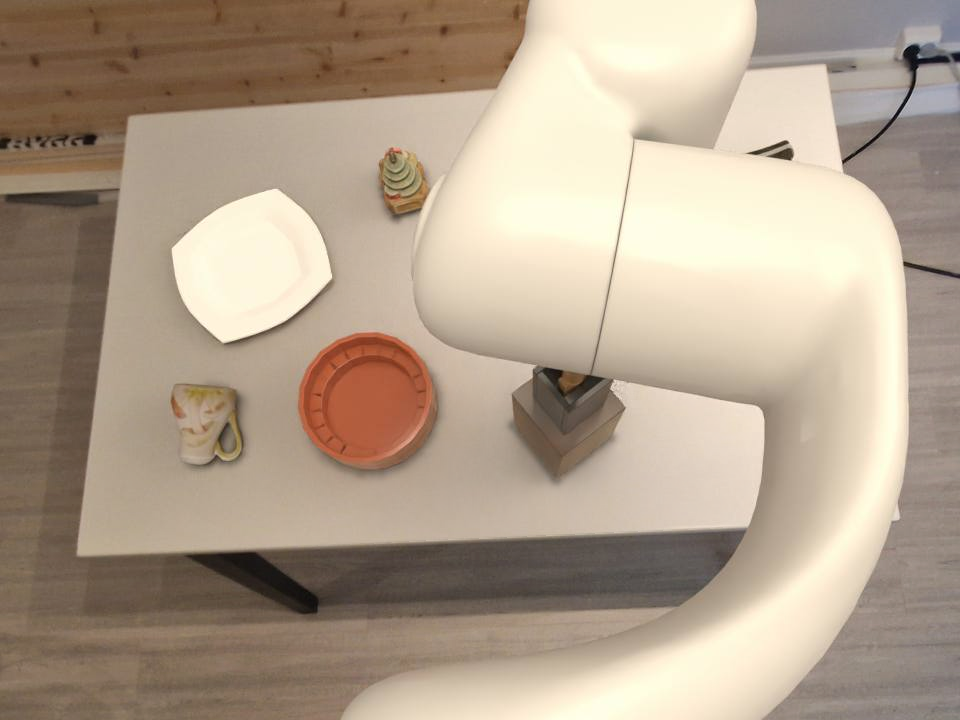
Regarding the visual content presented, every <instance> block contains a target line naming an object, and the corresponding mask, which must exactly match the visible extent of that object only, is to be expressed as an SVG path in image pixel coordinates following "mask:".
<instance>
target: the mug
mask: <svg viewBox="0 0 960 720" xmlns="http://www.w3.org/2000/svg"><path fill="white" fill-rule="evenodd" d="M170 404H171V410H172V413H173V417H174V419H175V423H176V427H177V430H178V433H179V447H178V448H179V449H178V456H179V458H180V459H181V461H183V462H184V463H187V464H190V465H200V466H202V465H207V464H208V463H210V462H211V461H213V459H215V457H216V456H217V457H219V459H221V460H222V461H225V462H231V461H234V460H236V459H237V458H238V457H239V456H240V455H241V452H242V450H243V438H242V434H241V432H240V430H239V426H238V421H237V411H236V409H235V407H236V404H237V389H236V388H232V387H226V386H218V385H217V386H216V385H209V384H199V383H198V384H197V383H196V384H194V383H175V384H173V386H172V389H171V395H170ZM228 423H229V425H230V427H231V429H232V431H233V435H234V437H235V442H236V447H235V449H234V450H233V451H232V452H230V453H228V452H224V451H223V449H222V445H221V443H220V442H219V438H220V435H221V433H222V432H223V430H224V429H225V427H226V425H227V424H228Z"/></svg>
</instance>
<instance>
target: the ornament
mask: <svg viewBox="0 0 960 720" xmlns="http://www.w3.org/2000/svg"><path fill="white" fill-rule="evenodd" d="M378 168H379V172H380V174H379V176H378V177H379V182H380V185H381V187H382V190H383V199H384V203H385V205H386V207H387V208H388V210H390V211H391V212H392V214H394V215H396V216H397V215H402V214H406V213H411V212H414V211H419V210H422V207H423V204H424V202H425V200H426V198H427V196H428V194H429V192H430V189H429V186H428V183H427V181H425V179H426V178H425V173H424V168H423V165H422V163H421V162H420V161H419V159H418V157H417V155H416V154H415V153H414V152H412V151H408V150H403V149H401V148H400V147H398V146H394V147H390V148H388V149H386V150H385V153H384V156H383V157H382V158H381V159H380V160H379V161H378Z"/></svg>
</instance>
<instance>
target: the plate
mask: <svg viewBox="0 0 960 720" xmlns="http://www.w3.org/2000/svg"><path fill="white" fill-rule="evenodd" d="M170 250H171V258H172V266H173V272H174V278H175V282H176V286H177V290H178V293H179V296H180V297H181V300H182V302H183V304H184V305H185V307H186V308H187V310H188V312H189V313H190V314H191V315H192V317H194V319H195V320H196V321H197V322H198V323H199V324H200V325H201V326H202V327H203V328H204V329H206V330H207V331H208V332H209V333H210V334H211V335H212V336H213V337H214V338H216V339H217V340H218V341H220V343H222V344H227V343H231V342H234V341H238V340H241V339H244V338H249V337H251V336H254V335H257V334H260V333H263V332H265V331H267V330H270V329H272V328H274V327H277V326H279V325H281V324H282V323H286V321H288V320H289V319H291V318H292V317H293V316H295V315H296V314H298V313H299V312H300V311H301V310H302V309H303V308H304V307H305V306H307V305H308V304H309V303H310V302H312V300H313V299H314V298H315V297H316V296H317V295H318V294H319V293H321V291H322V290H324V289H325V287H326V286H327V285H328V284H329V283H330V282H331V281H332V279H333V273H332V267H331V264H330V260H329V255H328V250H327V247H326V244H325V241H324V239H323V235H322V233H321V232H320V230H319V228H318V226H317V224H316V223H315V222H314V220H313V219H312V218H311V216H310V215H309V214H308V213H307V212H306V211H305V210H304V209H303V208H302V207H301V206H300V205H299V204H298V203H296V202H295V201H294V200H293V199H292V198H290V197H289V196H287V195H286V194H285V193H283V192H282V191H281V190H279V189H278V188H277V187H276V188H272V189H268V190H265V191H260V192H258V193H254V194H251V195H247V196H244V197H242V198H239V199H237V200H234V201H231V202H229V203H227V204H225V205H223V206H221V207H218V208H217V209H215V210H214V211H213V212H211V213H210V214H208V215H207V216H206V217H204V218H203V219H201V221H199V222H198V223H197V224H196V225H194V227H192V228H191V229H190V230H189V231H188V232H187V233H186V234H185V235H184V236H183V237H181V239H180V240H178V242H177V243H176V244H175V245H174V246H172V247H171V249H170Z"/></svg>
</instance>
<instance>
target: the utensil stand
mask: <svg viewBox="0 0 960 720" xmlns="http://www.w3.org/2000/svg"><path fill="white" fill-rule="evenodd" d="M562 373H563V370H558V369H553V368H547V367H542V366H537V365H536V366H534V368H532V378H530V379H529V380H528V381H526V382H524V384H522V385H520V386H519V387H518V388H517V389H515V390H514V391H513V392H512V393H511V395H510V396H511V404H512V412H513V422H514V426H515V428H517V430H518V432H519V433H520V434H521V435H522V436H523V437H524V439H525V440H526V442H527V443H528V444H529V445H530V446H531V448H532V449H533V450H534V452H535V453H536V454H537V456H539V458H540V459H541V461H542V462H543V463H544V464H545V465H546V467H547V468H548V470H550V472H551V473H552V474H553V475H554V477H555V478H556V479H559V478H560V477H561V476H563V475H565V473H567V472H568V471H569V470H571V469H572V468H573V467H574V466H576V465H577V464H579V463H580V462H581V461H582V460H583V459H585V458H586V457H587V456H589V455H590V454H591V453H592V452H594V451H595V450H597V449H598V448H599V447H600V446H602V445H603V444H604V443H605V442H607V441H608V440H609V439H611V438H612V436H613V434H614V433H615V430H616V428H617V426H618V424H619V422H620V420H621V418H622V416H623V414H624V412H625V411H626V409H627V407H626V406H625V404H624V403H623V402H622V400H620V398H618V397H617V395H616V394H615V392H613V391H612V390H611V388H612V385H613V384H614V380H613V379H608V378H603V377H597V376H592V375H586V379H585V382H584V383H583V384H581V385H580V386H579V387H577V388H576V389H575V390H573V391H572V392H571V393H569V394H568V395H567V396H566V397H563V396H562V394H561V393H560V392H559V391H558V390H557V387H558V379H559V378H561V377H562Z"/></svg>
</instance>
